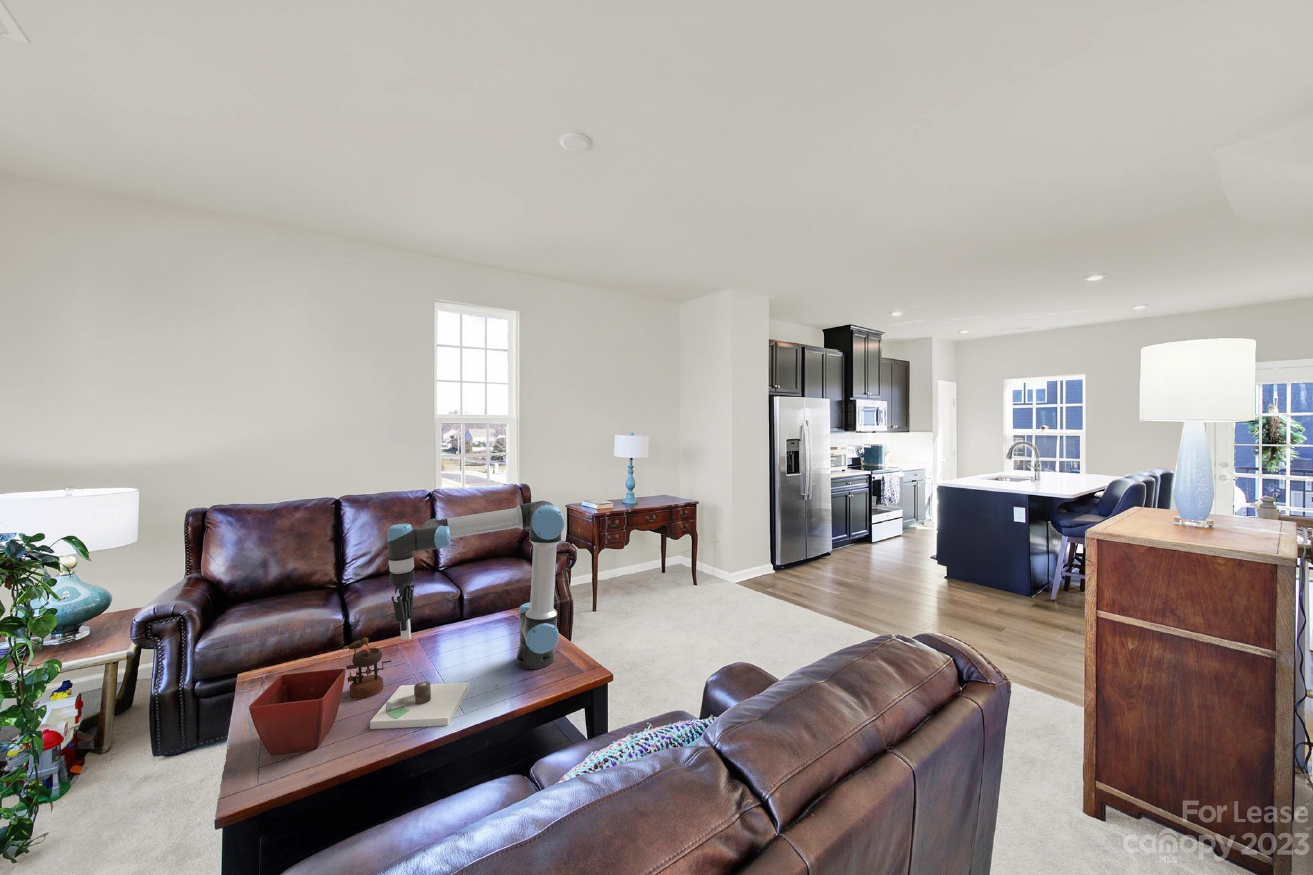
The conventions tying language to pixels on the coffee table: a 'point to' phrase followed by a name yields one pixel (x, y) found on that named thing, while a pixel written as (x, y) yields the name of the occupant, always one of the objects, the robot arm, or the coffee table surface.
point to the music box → (365, 658)
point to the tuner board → (422, 707)
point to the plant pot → (298, 710)
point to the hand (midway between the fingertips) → (406, 638)
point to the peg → (412, 697)
